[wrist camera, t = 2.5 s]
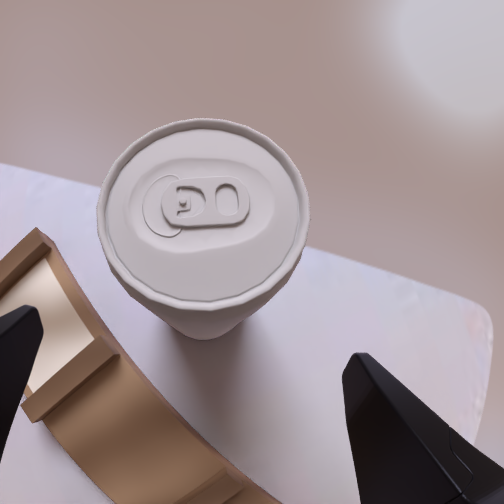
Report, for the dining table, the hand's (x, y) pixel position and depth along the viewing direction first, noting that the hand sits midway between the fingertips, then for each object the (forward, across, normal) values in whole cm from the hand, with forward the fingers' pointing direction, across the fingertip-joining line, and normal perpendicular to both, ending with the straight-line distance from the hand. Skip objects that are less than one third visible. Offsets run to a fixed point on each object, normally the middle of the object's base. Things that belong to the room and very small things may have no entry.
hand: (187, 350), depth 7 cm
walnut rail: (+2, +3, +11) cm, 12 cm away
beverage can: (+9, 0, +5) cm, 10 cm away
